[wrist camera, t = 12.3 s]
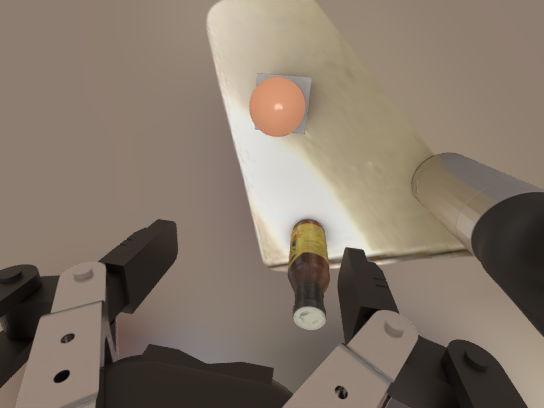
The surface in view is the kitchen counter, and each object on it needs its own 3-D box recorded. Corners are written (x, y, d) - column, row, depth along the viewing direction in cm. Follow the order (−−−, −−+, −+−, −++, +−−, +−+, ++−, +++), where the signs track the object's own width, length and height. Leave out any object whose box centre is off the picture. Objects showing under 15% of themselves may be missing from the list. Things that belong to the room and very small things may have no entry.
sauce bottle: (290, 219, 49) (279, 295, 31) (324, 217, 48) (334, 294, 30) (293, 249, 51) (285, 335, 33) (326, 247, 50) (336, 336, 32)
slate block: (311, 79, 34) (311, 77, 28) (305, 127, 36) (305, 133, 31) (265, 76, 34) (257, 73, 29) (262, 123, 37) (254, 129, 31)
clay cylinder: (308, 81, 28) (308, 79, 23) (302, 130, 30) (301, 138, 25) (261, 78, 29) (250, 75, 23) (259, 126, 31) (248, 134, 25)
